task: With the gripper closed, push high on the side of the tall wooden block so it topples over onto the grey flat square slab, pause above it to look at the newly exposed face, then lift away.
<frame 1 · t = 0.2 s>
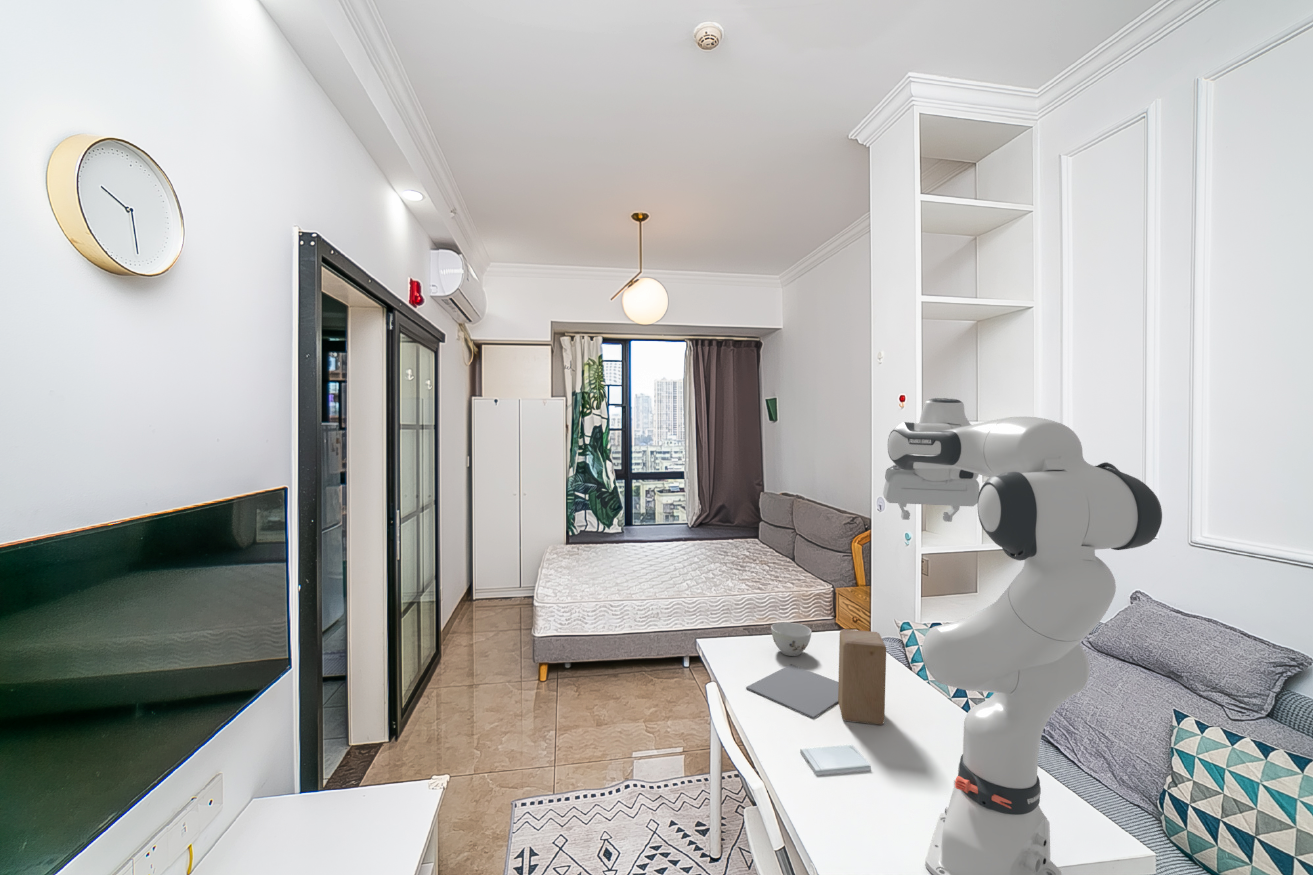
hand: (925, 519, 134), 51 cm above the table, tool tilted 20°, fingers open, 8 cm apart
grey flat square slab: (801, 689, 156), on the table
teacup: (789, 651, 182), on the table
wooden block: (860, 714, 143), on the table
hard drive: (834, 764, 123), on the table
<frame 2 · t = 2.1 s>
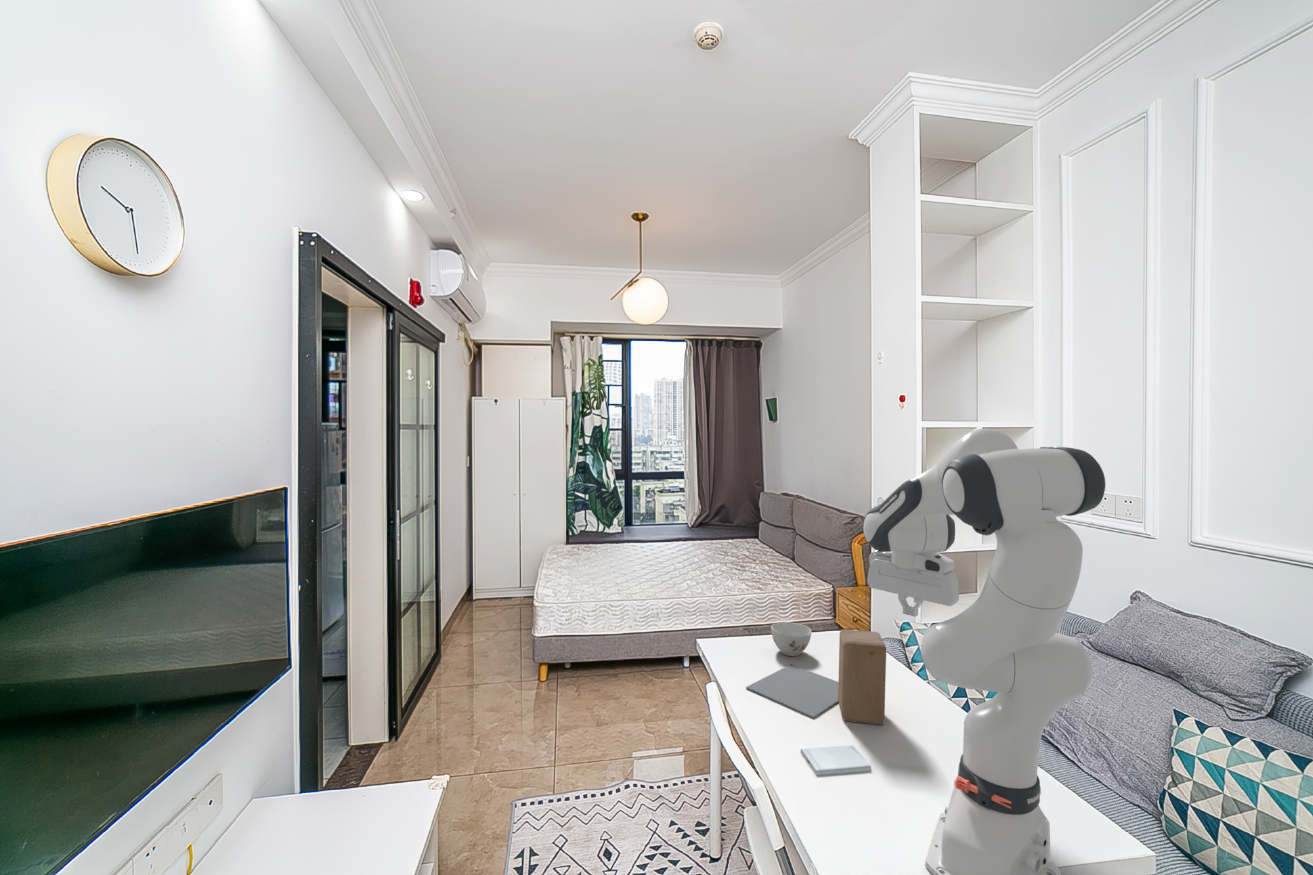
hand: (910, 614, 134), 29 cm above the table, tool pointing down, fingers closed
nothing on the table moved.
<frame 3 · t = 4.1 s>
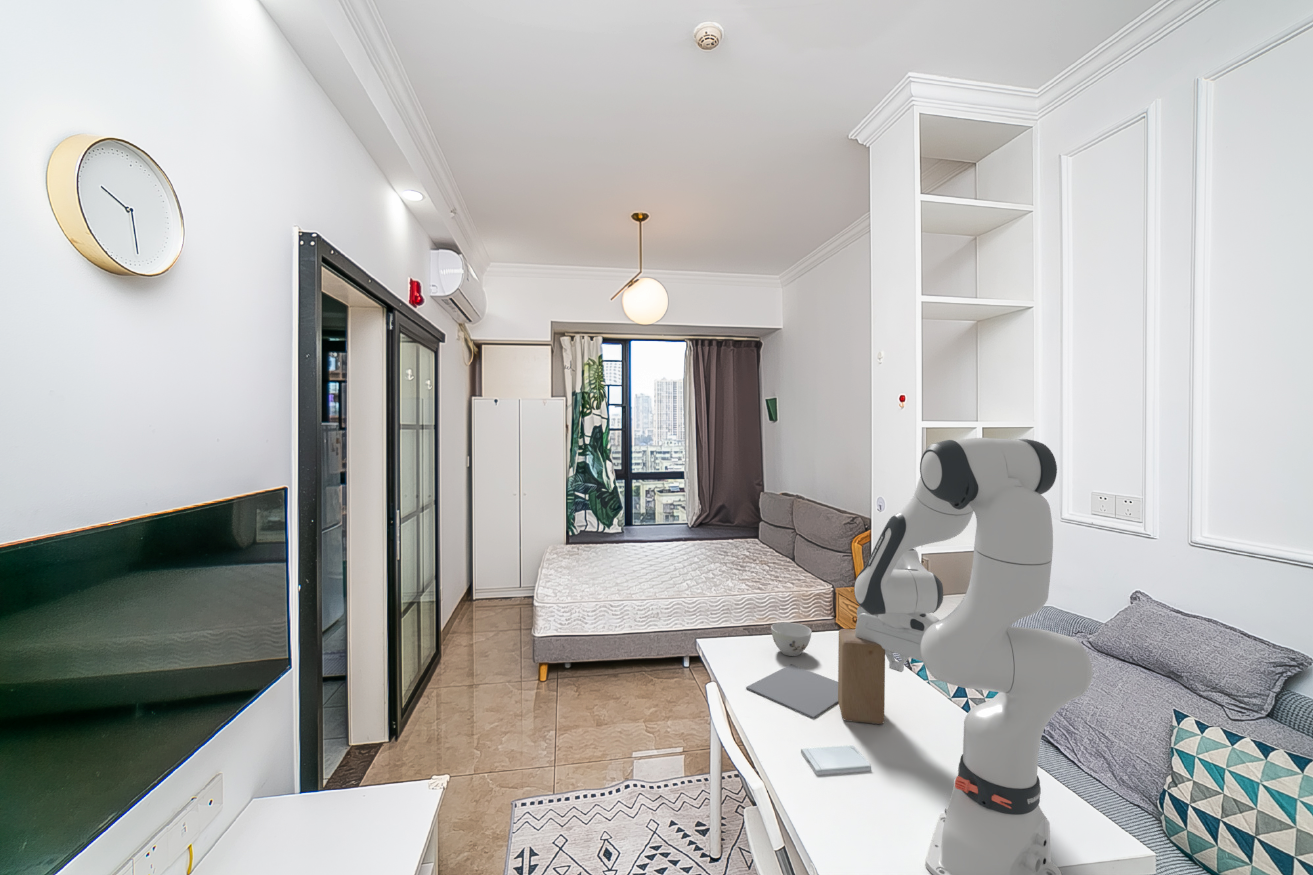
hand: (896, 669, 136), 14 cm above the table, tool pointing down, fingers closed
wooden block: (860, 714, 143), on the table, touching gripper
everything else where it was.
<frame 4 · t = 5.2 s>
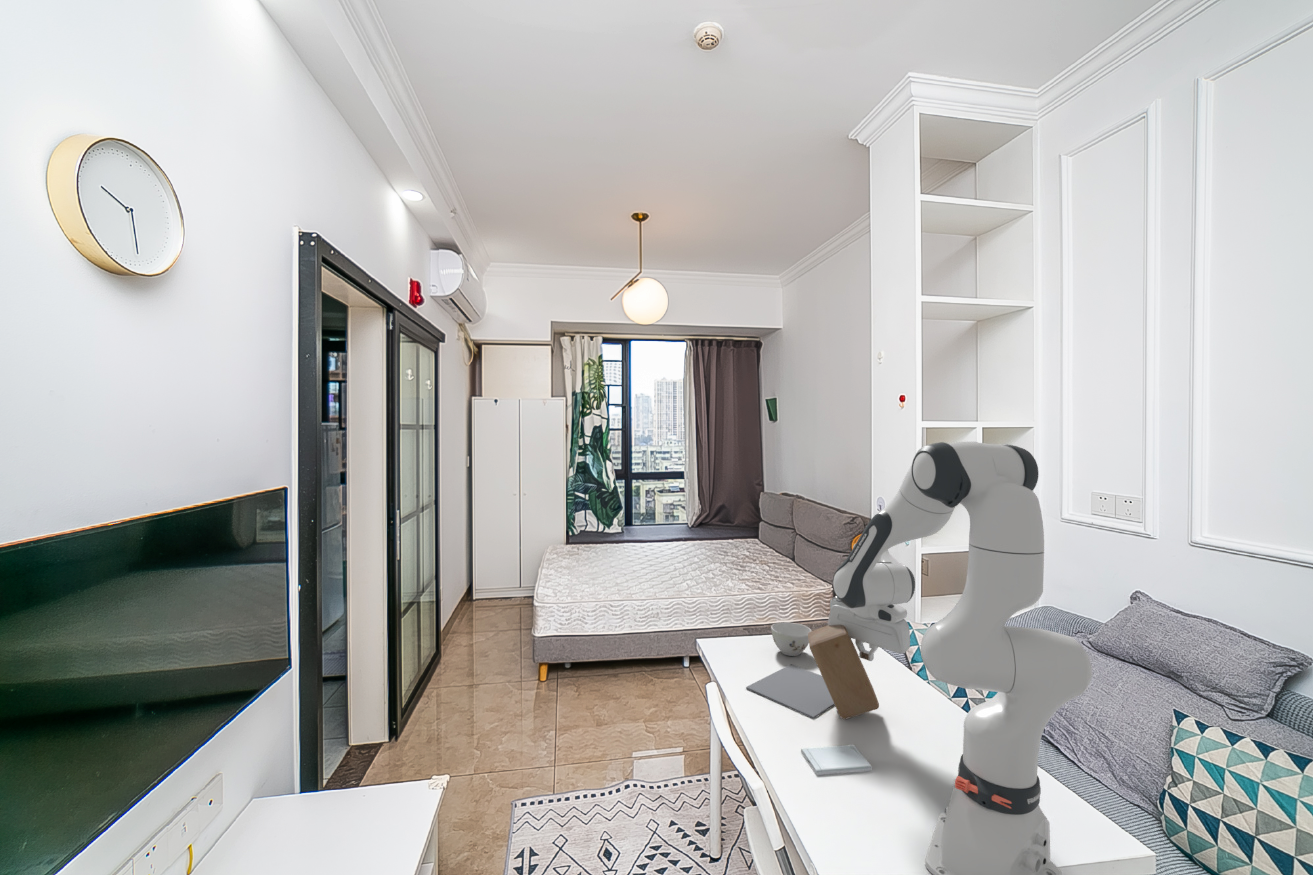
hand: (866, 658, 142), 14 cm above the table, tool pointing down, fingers closed
wooden block: (858, 706, 143), point 2 cm above the table, touching gripper
everything else where it was.
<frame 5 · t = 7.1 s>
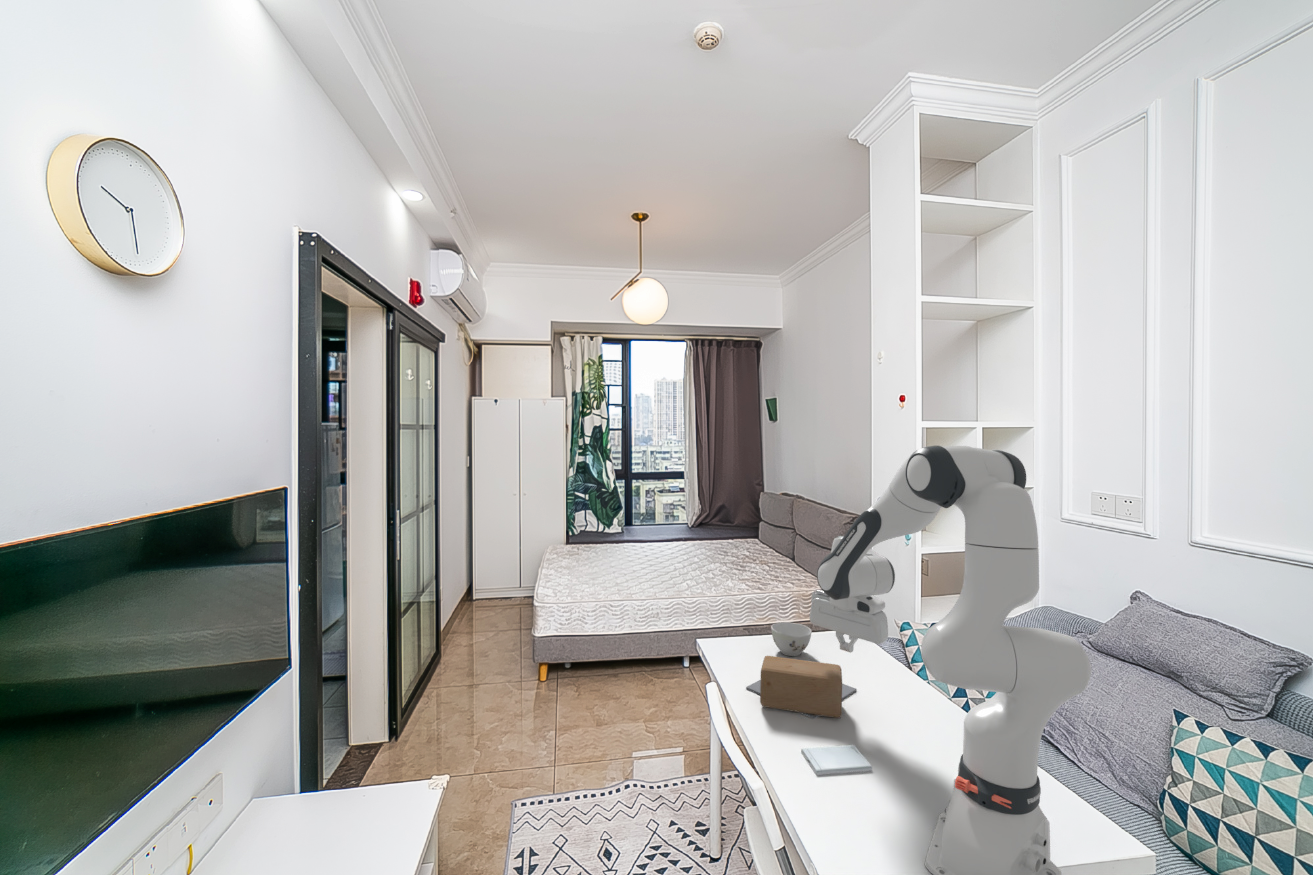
hand: (846, 650, 145), 15 cm above the table, tool pointing down, fingers closed
wooden block: (842, 691, 143), point 5 cm above the table, touching grey flat square slab
everything else where it was.
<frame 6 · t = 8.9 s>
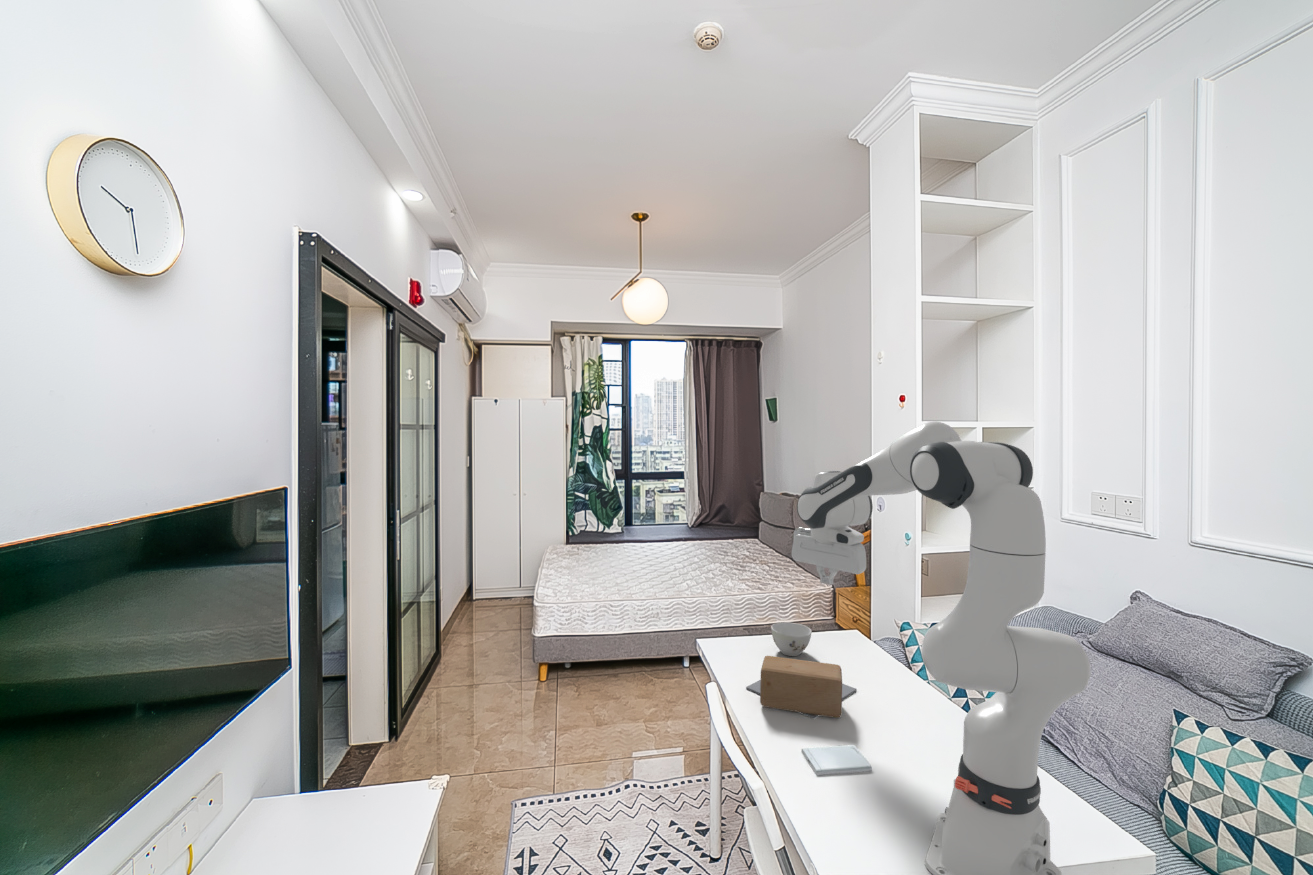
hand: (826, 583, 149), 31 cm above the table, tool pointing down, fingers closed
nothing on the table moved.
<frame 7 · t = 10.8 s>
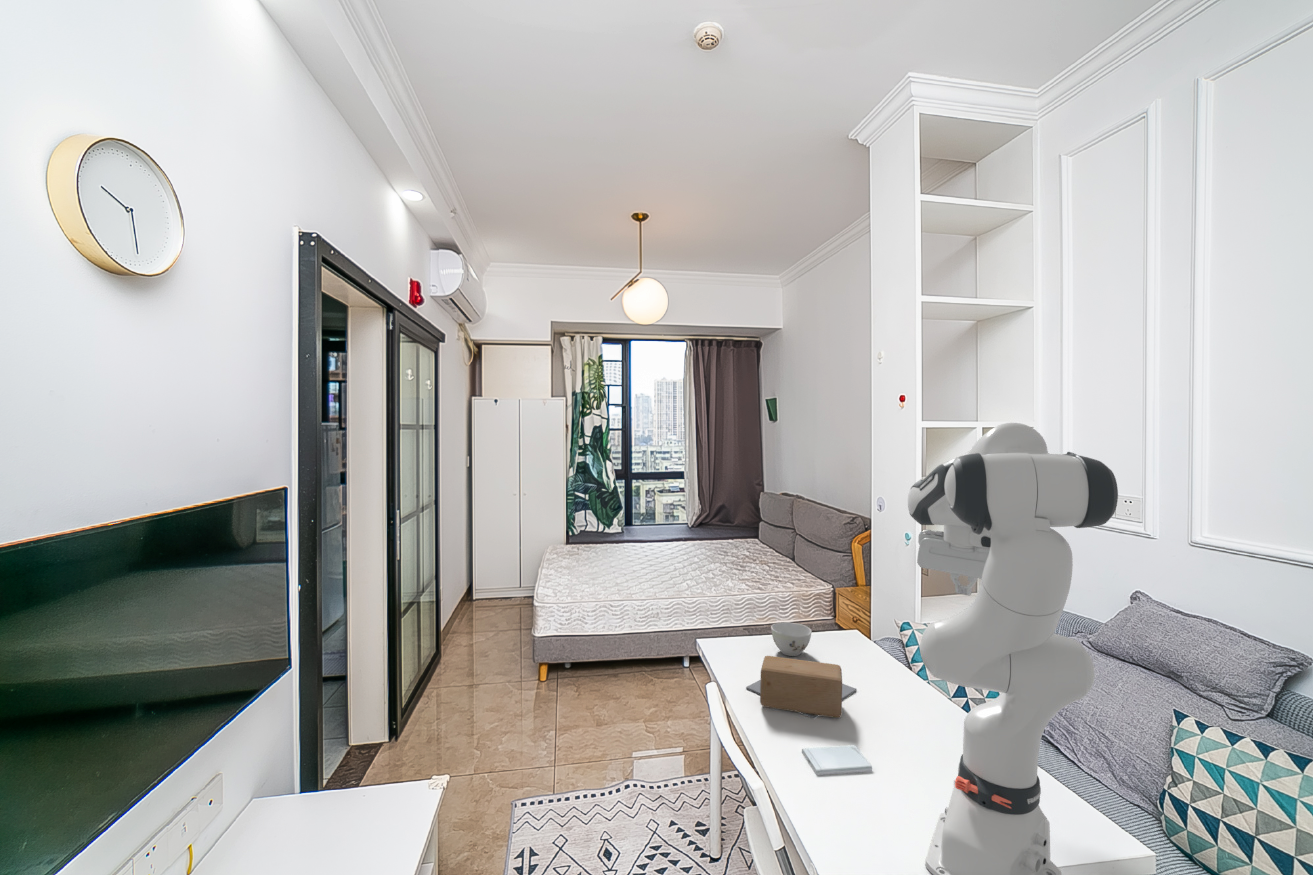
hand: (963, 594, 131), 34 cm above the table, tool pointing down, fingers closed
nothing on the table moved.
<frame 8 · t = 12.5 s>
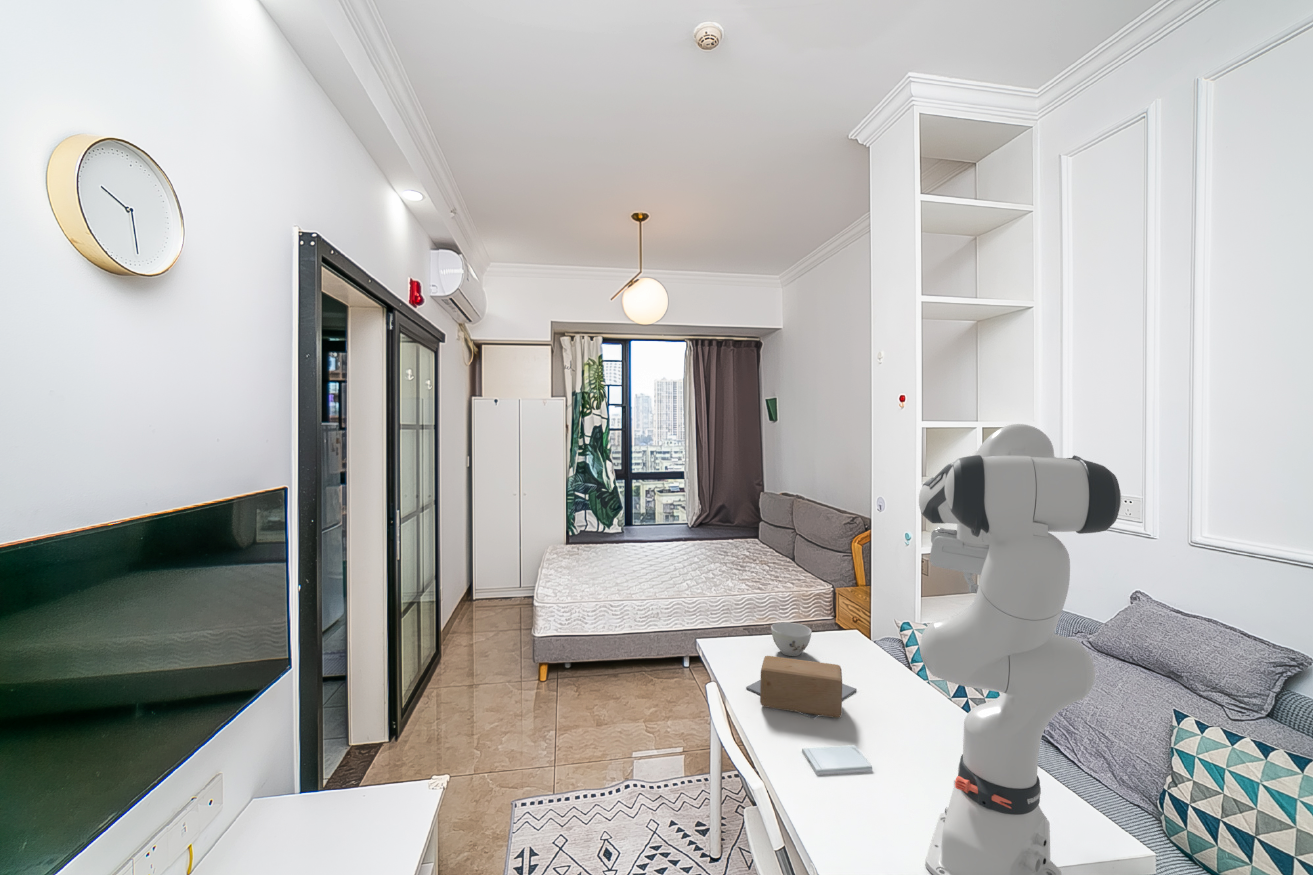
hand: (976, 593, 129), 35 cm above the table, tool pointing down, fingers closed
nothing on the table moved.
at the end: wooden block tilted 90°; wooden block touching grey flat square slab; wooden block inside the target area (4.6 cm from its centre), point 5.5 cm above the table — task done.
